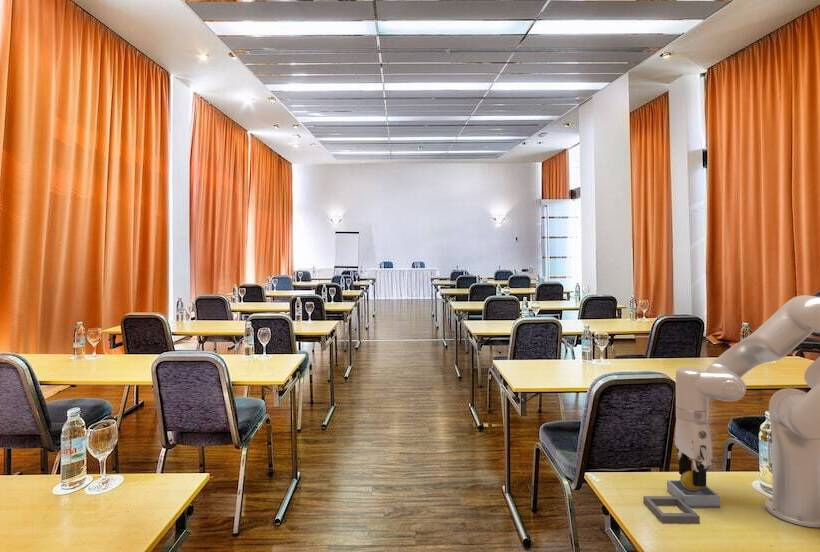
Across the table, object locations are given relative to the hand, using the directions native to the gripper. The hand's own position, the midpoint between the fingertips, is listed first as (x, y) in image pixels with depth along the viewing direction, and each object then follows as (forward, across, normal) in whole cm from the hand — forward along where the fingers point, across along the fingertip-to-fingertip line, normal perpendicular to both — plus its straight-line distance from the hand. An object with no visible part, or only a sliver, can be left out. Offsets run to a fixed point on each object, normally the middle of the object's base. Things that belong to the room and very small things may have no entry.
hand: (692, 479), depth 124 cm
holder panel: (+5, -7, +9) cm, 13 cm away
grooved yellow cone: (+3, 0, 0) cm, 3 cm away
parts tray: (+5, 0, 0) cm, 5 cm away
